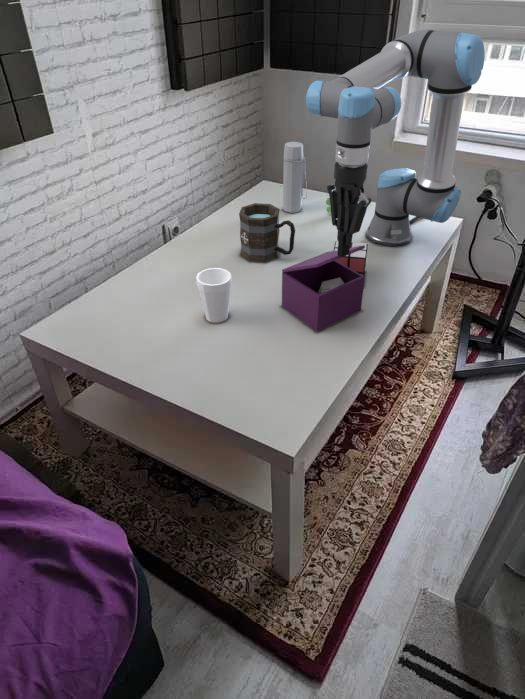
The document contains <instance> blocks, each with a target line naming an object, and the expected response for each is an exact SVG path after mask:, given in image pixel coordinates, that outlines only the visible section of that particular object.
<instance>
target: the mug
mask: <svg viewBox="0 0 525 699" xmlns="http://www.w3.org/2000/svg"><path fill="white" fill-rule="evenodd" d="M280 211H281V209H280V208H279V207H277V206H274V205H273V204H271V203H261V202H259V203H257V202H254V203H251V204H247V205H245V206H241V208H240V210H239V212H238V216H239V225H240V226H239V227H240V228H239V229H240V230H239V238H240V250H241V251H240V257H242V259H245V260H246V261H247V262H249V263H262V264H263V263H265V264H266V263H268V262H271V261H274V260H276V259H278V258H279V254H282V255H284V256H288V255H291V254H292V253H293V250H294V248H295V236H296V227H295V224H294V222H292V221H291V220H282V222H280ZM286 225H287V226H289V228H290V235H289V248H288V250H286V249H284V248H283V247H281V246H280V244H279V243H280V240H279V239H280V229H281V228H283V227H284V226H286Z"/></svg>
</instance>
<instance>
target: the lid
mask: <svg viewBox="0 0 525 699" xmlns="http://www.w3.org/2000/svg"><path fill="white" fill-rule="evenodd" d="M364 248H365V246H364V245H363V246H358V247H352V248H350V250H349V254H352V253H354V252H357V251H359V250H362V249H364ZM337 253H338V250H336V251H333V250H332V251H331V250H330V251H327V252H324V253H321V254H318V255H315V256H312V257H311V258H309V259H305V260H304V261H301V262H298V263H296V264H293V265H290V266H288V267H285V268H283V269H281V273H282V272H288V271H295V270H302V269H308V268H315V267H319V266H322V265H324V264H327V263H329V262H332V261H334V260H337V259H339V258H342V257H340V256H338V255H337ZM349 254H348V255H349ZM346 256H347V255H346ZM343 257H344V256H343Z"/></svg>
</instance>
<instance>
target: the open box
mask: <svg viewBox="0 0 525 699" xmlns="http://www.w3.org/2000/svg"><path fill="white" fill-rule="evenodd" d="M336 278H341V279H342V281H343V282H344V283H345V284H342V285H340V286H338V287H335V288H333V289H331V290H328V291H326V292H324V293H322V294H318V291H319V289H320V287H321V284H322V282H323V281H327V280H332V279H336ZM365 280H366V276H365V275H364V276H363V275H361V274H359V273H358V272H356V271H354V270H352V269H351V268H349V267H347V266H345V265H344V264H342V263H340V262H338V261H337V260H334V261H332V262H329V263H327V264H324V265H322V266H319V267H315V268H308V269H302V270H295V271H288V272H282V271H281V307H282V308H283V309H284V310H286V311H287V312H289V314H291V315H293V316H294V317H296V318H297V319H299V320H300V321H302V323H304V324H306V325H307V326H308V327H310V328H311V329H312V330H314V331H315V332H319V331H323V330H324V329H326V328H328V327H329V326H332V325H334V324H337V323H338V322H340V321H343V320H345V319H347V318H349V317H351V316H353V315H356V314H358V313H360V312H361V311H362V304H363V297H364V288H365Z"/></svg>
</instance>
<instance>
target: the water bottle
mask: <svg viewBox="0 0 525 699" xmlns="http://www.w3.org/2000/svg"><path fill="white" fill-rule="evenodd" d="M306 160H307V158H306V157H305V156H304V144H303V143H302V142H299V141H287V142H285V143H284V149H283V178H282V179H283V184H282V187H283V188H282V209H283V211H284V212H286V213H289V214H296V213H299V212H300V211H301V210H302V203H303V202H302V201H303V200H306V199H307V198H308V197H307V196H308V184H307V182H305V189H306V193H305V194H306V195H305V196H304V187H303V184H304V181H305V180H304V179H305V178H307V173H306V169H304V167H306Z"/></svg>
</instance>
